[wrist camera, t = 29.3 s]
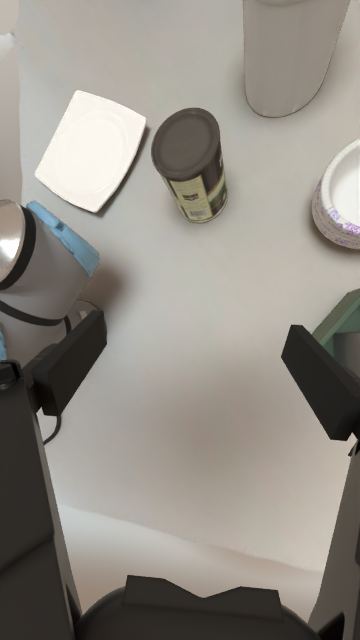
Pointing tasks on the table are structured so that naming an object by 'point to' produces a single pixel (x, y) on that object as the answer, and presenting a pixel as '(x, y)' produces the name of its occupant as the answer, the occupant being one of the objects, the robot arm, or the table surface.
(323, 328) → the tote
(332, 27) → the utensil holder
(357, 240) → the paper bowls
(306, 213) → the table surface
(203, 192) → the coffee can
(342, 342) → the perfume bottle
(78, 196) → the plate
